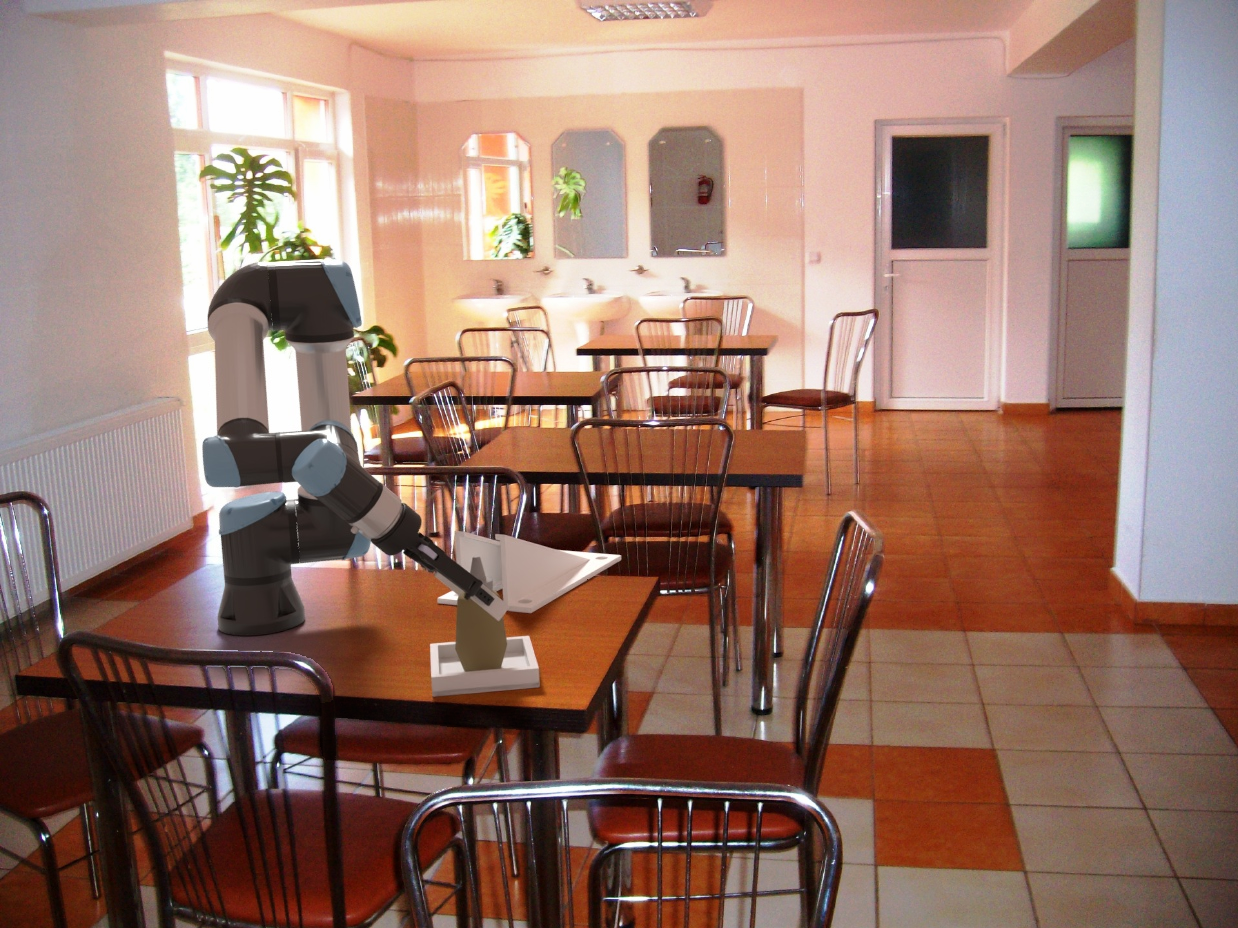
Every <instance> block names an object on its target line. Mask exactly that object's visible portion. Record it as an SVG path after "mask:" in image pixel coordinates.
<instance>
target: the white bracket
mask: <svg viewBox="0 0 1238 928" xmlns="http://www.w3.org/2000/svg"><path fill="white" fill-rule="evenodd" d="M494 536H495V539H491V538H488V537H486V536H485V537H484V536H481V535H477V534H474V533H470V532H466V531H458V530H455V531H454V542H455V543H454V544H455V559H456V561H455V562H456V563H458V564H459V565H460V566H461V567H463V568H464V569H465V570H467V571H468V572H469V573H470V570H471V564H472V558H473V557H474V556H480V558H481V562H482V565H483V569H484V572H485V576H486V577H490V578H492V579H493V591H495V592H499V591H500V590H502V600H503V601H504V602H505V603H506V604H507V605H509V606H510V607H509V609H508V610H507V611H508V612H514V613H515V612H516V613H524V614H527V613H528V614H532V613H534V612H535V611H537V610H538V609H540V608H542V607H544V606H546V605H547V604H549V603H551V602H553V601H554V600H555V599H558V598H559V597H561V596H562V595H564V594H566V593H567V592H570V591H571V590H572V589H574V588H576V587H579V585H581V584H583V583H585V582H587V581H588V580H590V579H591V578H593V577H594V576H597V575H598V574H600V573H601V572H603V571H605V570H607V569H608V568H610V567H612V566H613V565H615V564H617V563H618V562H620V561H622V555H620V554H609V553H599V552H587V551H586V552H585V551H576V550H575V551H572V550H561V549H555V548H551V547H548V546H544V545H541V544H538V543H534V542H530V541H528V540H527V541H526V540H524V539H520V538H517V537H514V536H510V535H507V534H502V533H501V534H498V533H495V534H494ZM587 579H588V580H587ZM436 599H437V604H442V605H443V604H444V605H450V606H452V605H453V606H457V599H458V595H457V594H456V593H455V592H454V591H452V590H451V591H449V592H447V593H445V594H443V595H441V596H439V597H437V598H436ZM507 611H506V612H507Z"/></svg>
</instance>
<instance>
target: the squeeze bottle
mask: <svg viewBox="0 0 1238 928" xmlns="http://www.w3.org/2000/svg"><path fill="white" fill-rule="evenodd" d="M470 574H472V575H473V576H474V577H476V578H477V579H480V580H481V581H482V582H483V585H485V586H486V587H487V588H488V589H489V590H491V591H492V592H493V593H494V594H495V595H497V596H498V597H499V598H500V599H501V596H500V594H499V593H498V591H496V592H495V591H493V579H492V578H490V577H486V576H485V572H484V569H483V565H482V562H481V558H480V556H474V557H473V558H472V564H471V570H470ZM465 595H466V593H465V592H463V593H462V594H460V595H459V596H458V599H457V605H456V625H455V642H456V644H455V650H456V652H457V655H458V657H459V660H460V662H461V664H462V667H463V669H464V671H465V672H469V671H481V670H493V669H501V666H502V662H503V659H504V655H505V651H506V648H507V639H506V638H507V635H506V633H507V632H506V626H505V622H504V620H505V619H504V616H503V617H502V618H501V619H500V620H499V621H498V620H496V619H495V618H494V617H493V616H492V615H490V614H489V613H488V612H487V611H485V610H484V609H483V608H482V607H480V606H479V605H478V604H477V603H476V602H474V601H473V600H472V599H471V598H469V600H466V599H465V598H464V597H465Z"/></svg>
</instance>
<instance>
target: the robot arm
mask: <svg viewBox="0 0 1238 928" xmlns="http://www.w3.org/2000/svg"><path fill="white" fill-rule="evenodd" d="M355 284H356V283H355V280H354V277H353V273H352V270H351V267H350V265H349V264H348V263H347V262H345V261H344V260H337V259H336V260H334V259H333V260H332V259H322V258H321V259H305V260H289V261H288V260H285V261H284V260H283V261H258V262H257V261H256V262H253V263H250V264H247V265H244V266H243V267H241V268H239V269H237V270H236V271H234V272H232V273H231V275H229V276H228V277H227V278H226V279H224V281H223V282H222V283H221V285H220V286H219V287H218V288H217V290H216V292H215V293H214V294H213V296H212V299H211V301H210V303H209V306H208V312H207V331H208V333H209V336H210V338H211V339H213V340H212V341H214V359H215V360H214V362H215V365H214V368H215V369H214V370H215V401H216V435H214V436H210V437H206V438H205V439H203V441H202V463H203V464H202V466H203V475H204V479H205V483H206V484H207V485H208V486H209V487H211V488H239V487H248V486H249V487H251V486H258V485H260V486H261V485H268V484H269V485H271V484H280V483H281V484H282V483H283V484H287V483H298V484H299V485H300V486H299V487H298V488H297V498H296V499H287V495H286V494H285V493H284V492H282V491H266V492H259V493H255V494H251V495H247V496H246V495H245V496H242V497H240V498H237V499H234V500H232V501H231V500H230V501H229V502H227V503H226V504H224V505H223V506H222V507H221V508H220V511H219V513H218V514H219V515H218V516H219V517H218V518H219V529H218V534H219V535H220V542H221V543H220V545H221V553H222V554H221V556H222V566H223V569H222V570H223V580H224V587H223V592H222V596H221V601H220V605H219V609H218V613H217V625H218V626H217V628H218V630H219V631H220V632H222V633H223V634H227V635H232V636H259V635H261V636H262V635H268V634H273V633H279V632H282V631H283V632H284V631H286V630H290V629H292V628H295V627H297V626H300V625H301V624H302V623H304V621H305V620H306V614H305V605H304V603H303V600H302V598H301V596H300V594H299V592H298V590H297V587H296V585H295V581H294V580H293V577H292V575H293V574H292V565H297V564H299V565H300V564H306V563H307V564H309V563H318V562H329V561H340V560H341V561H346V560H347V559H348V560H350V559H355V558H361V557H364V556H365V555H366V554H367V553H368V552H369V551H370V548H371V544H373V545H374V546H375V547H376V548H378V549H379V550H380V551H381V552H382V553H383V554H385V555H386V556H391V557H392V556H395V555H398V554H400V553H402V554H403V555H405V556H406V557H407V558H409V559H410V560H413V561H414V562H415V563H417V564H418V565H420V567H421V568H422V569H426V570H427V572H428V573H430V574H433V576H434V577H435V578H436V579H437V580H439V581H440V582H441V583H442V584H443V585H444V586H446V587H447V588H449V590H451V591H454V592H455V593H456V594H457V595H458V596H459V595H460V594H462V593H463V592H465V593H466V595H465V597H464V598H465V599H466V600H469V598H471V599H472V600H473V601H474V602H476V603H477V604H478V605H479V606H480V607H482V608H483V609H484V610H485V611H487V612H488V613H489V614H490V615H492V616H493V617H494V618H495V619H496V620H498V621H499V620H500V619H501V618H502V617H503V618H504V615H505V614H506V613H507V610H508V609H509V607H510V606H509V605H507V604H506V603H505V602H504V601H503V599H501V597H500V598H499V597H498V596H497V595H495V594H494V593H493V592H492V591H491V590H489V589H488V588H487V587H486V586H485V585H483V582H482V581H481V580H480V579H477V578H476V577H474V576H473V575H472V574H470V573H469V572H468V571H467V570H465V569H464V568H463V567H461V566H460V565H459V564H458V563H456V561H455V560H454V559H453V558H451V557H449V556H448V554H447V553H446V552H445V550H444V549H442V548H440V547H439V546H438V545H436V544H435V542H434V541H433V539H432V538H430V537H428V536H427V535H424V534H422V533H421V532H419V531H420V529H421V527H422V517H421V515H420V514H419V513H417V512H416V511H415V510H414V509H413V508H411V507H410V506H409V505H408V504H407V503H405V502H402V499H401V498H400V497H399V496H398V495H397V494H396V493H394V492H393V491H392V490H390V489H389V488H388V487H387V486H386V485H385V484H384V483H382V482H380V481H379V480H378V479H377V478H375V477H374V476H373V475H372V474H370V473H369V472H368V471H367V469H365V468H364V467H363V466H362V465H361V461H360V456H359V449H358V443H357V441H356V439H355V437H354V434H353V432H352V424H351V422H352V421H351V419H352V418H351V409H350V407H351V406H350V405H351V404H350V393H349V392H350V389H349V377H348V374H349V373H348V360H347V346H348V345H349V344H350V343H351V342H352V341H353V340H354V339H355V334H354V331H355V330H354V328H355V329H358V328H360V327H362V324H363V323H362V321H363V320H362V316H361V308H360V303H359V298H358V293H357V289H356V285H355ZM269 331H272V332H274V331H277V332H278V331H284V338H285V340H284V341H285V342H287V344H289V345H290V346H291V347H292V348H293V349H294V350H295V361H296V373H297V374H296V375H297V389H298V401H299V415H300V426H301V430H296V431H283V432H279V431H278V432H270V425H269V411H268V395H267V380H266V366H265V363H266V362H265V349H264V340H265V339H266V337H267V335H268V332H269Z"/></svg>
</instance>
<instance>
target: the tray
mask: <svg viewBox="0 0 1238 928" xmlns="http://www.w3.org/2000/svg"><path fill="white" fill-rule="evenodd" d="M506 639H507V648H506V651H505V655H504V659H503V662H502V666H501V669H493V670H481V671H469V672H465V671H464V669H463V667H462V664H461V662H460V660H459V657H458V655H457V652H456V650H455V644H456V641H449V642H448V641H447V642H436V643H429V647H430V648H429V650H430V651H429V652H430V654H429V655H430V674H431V675H430V677H431V678H430V679H431V695H432V697H433V698H434V697H435V698H436V697H444V696H456V695H467V694H478V693H489V692H500V691H511V690H521V689H522V690H525V689H534V688H535V689H536V688H540V686H541V685H540V684H541V683H540V668H539V663H538V660H537V658H536V655H535V651H534V648H533V644H532V641H531V638H530V635H522V636H509V637H507V636H506Z"/></svg>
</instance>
